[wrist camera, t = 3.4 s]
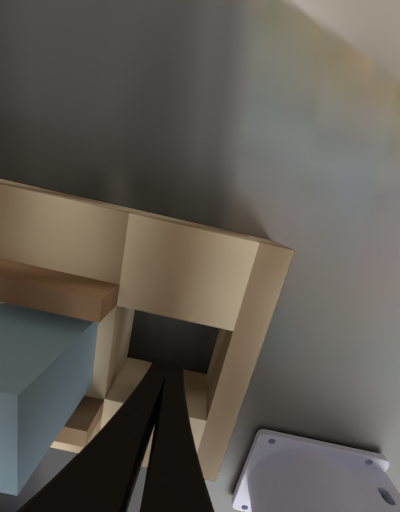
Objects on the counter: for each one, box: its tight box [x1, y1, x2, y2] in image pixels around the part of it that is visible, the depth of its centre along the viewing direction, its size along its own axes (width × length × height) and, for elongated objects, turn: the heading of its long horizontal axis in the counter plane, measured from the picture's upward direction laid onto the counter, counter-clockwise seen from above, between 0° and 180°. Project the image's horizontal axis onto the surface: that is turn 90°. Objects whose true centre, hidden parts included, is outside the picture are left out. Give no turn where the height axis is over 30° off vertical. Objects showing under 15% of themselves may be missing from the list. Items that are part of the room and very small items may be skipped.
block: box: [0, 303, 98, 496], centre depth 8 cm, size 4×4×4 cm
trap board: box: [0, 179, 294, 482], centre depth 10 cm, size 18×14×4 cm
